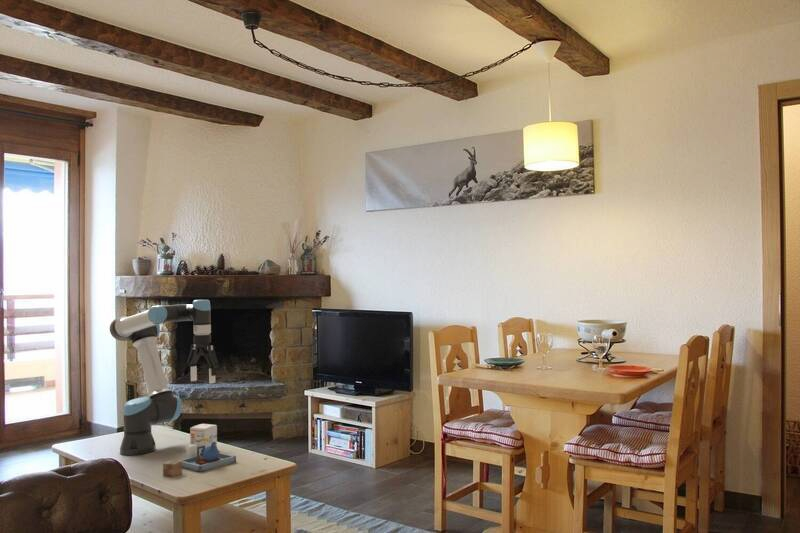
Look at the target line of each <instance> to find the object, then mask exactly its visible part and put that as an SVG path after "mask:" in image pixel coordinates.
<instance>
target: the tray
mask: <svg viewBox="0 0 800 533" xmlns="http://www.w3.org/2000/svg"><path fill="white" fill-rule="evenodd" d="M199 458H200V457H199ZM218 458H220V459H221V460H218V461H214V462H211V463H207V464H203V465H200V464H196V463H195V462H196V460H197V456H194V457H190V458H187V457H186V458H183V459H179V460H178V461H182V469H185V470H190V471H192V472H197V473H202V472H206V471H209V470H212V469H216V468H219V467H224V466H227V465H230V464H234V463H236V462H237V456H236V455H232V454H228V453H223V452H219V457H218Z"/></svg>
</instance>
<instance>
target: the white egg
mask: <svg viewBox="0 0 800 533" xmlns="http://www.w3.org/2000/svg"><path fill="white" fill-rule="evenodd" d="M194 456H197V445H196V444H191V445H190V444H188V445H186V459H187V458H190V457H194Z"/></svg>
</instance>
